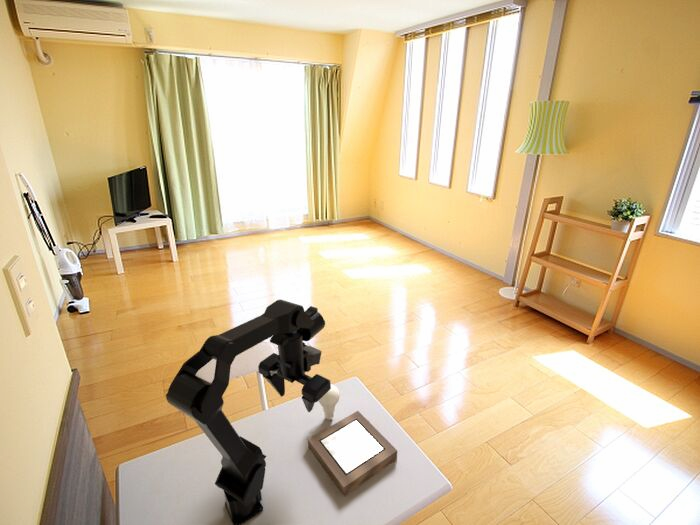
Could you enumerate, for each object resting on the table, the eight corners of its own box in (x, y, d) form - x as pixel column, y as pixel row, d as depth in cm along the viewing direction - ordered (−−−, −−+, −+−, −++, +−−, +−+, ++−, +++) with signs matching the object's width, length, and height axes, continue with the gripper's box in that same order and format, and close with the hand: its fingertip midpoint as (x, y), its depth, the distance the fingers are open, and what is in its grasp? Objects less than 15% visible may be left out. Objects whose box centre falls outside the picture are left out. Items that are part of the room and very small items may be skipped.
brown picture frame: (344, 496, 82) (343, 487, 80) (308, 447, 94) (307, 439, 92) (396, 459, 90) (397, 450, 89) (358, 418, 102) (358, 410, 101)
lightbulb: (341, 410, 105) (340, 379, 101) (338, 427, 99) (337, 395, 95) (320, 409, 106) (318, 378, 102) (316, 425, 100) (314, 393, 96)
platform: (346, 479, 84) (346, 473, 84) (321, 446, 93) (320, 440, 92) (383, 454, 90) (383, 448, 90) (356, 425, 99) (356, 420, 98)
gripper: (344, 347, 85) (345, 398, 91) (286, 323, 95) (291, 371, 101) (313, 373, 77) (316, 428, 83) (253, 344, 87) (260, 395, 93)
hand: (296, 403), depth 90 cm, fingers open, 9 cm apart
